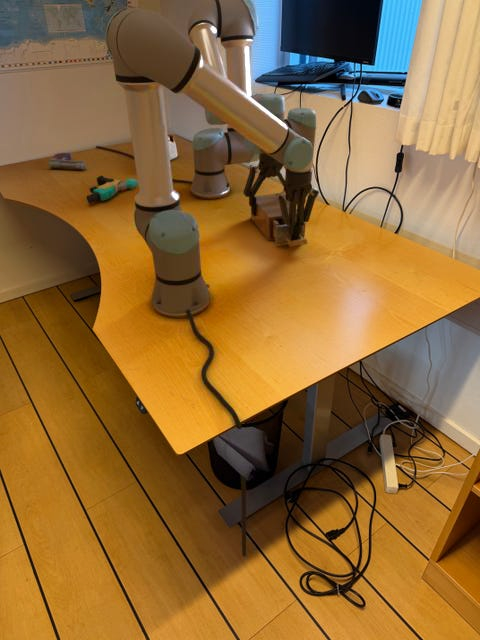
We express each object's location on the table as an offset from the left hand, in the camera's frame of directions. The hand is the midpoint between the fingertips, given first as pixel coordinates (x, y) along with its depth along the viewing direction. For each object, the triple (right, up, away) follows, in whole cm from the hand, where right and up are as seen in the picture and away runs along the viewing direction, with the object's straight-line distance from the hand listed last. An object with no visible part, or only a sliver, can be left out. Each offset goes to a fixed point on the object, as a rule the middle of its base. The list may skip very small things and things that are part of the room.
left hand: (294, 243), depth 148 cm
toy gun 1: (-94, +47, +70) cm, 126 cm away
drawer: (-3, +4, +7) cm, 9 cm away
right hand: (-7, +13, +17) cm, 23 cm away
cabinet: (-5, +8, +15) cm, 18 cm away
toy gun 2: (-71, +26, +41) cm, 86 cm away
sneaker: (-54, +48, +70) cm, 101 cm away
